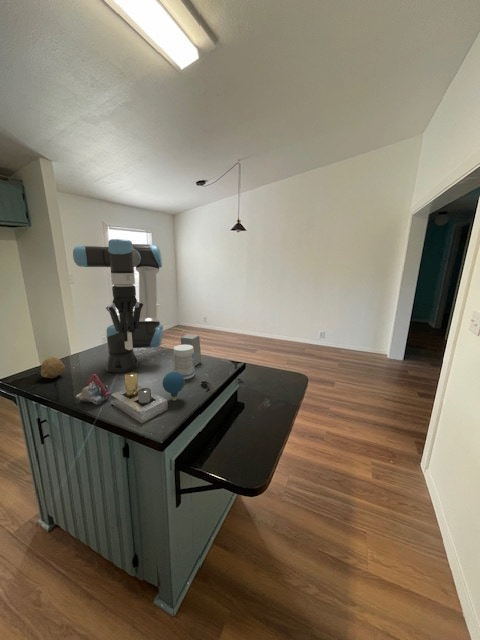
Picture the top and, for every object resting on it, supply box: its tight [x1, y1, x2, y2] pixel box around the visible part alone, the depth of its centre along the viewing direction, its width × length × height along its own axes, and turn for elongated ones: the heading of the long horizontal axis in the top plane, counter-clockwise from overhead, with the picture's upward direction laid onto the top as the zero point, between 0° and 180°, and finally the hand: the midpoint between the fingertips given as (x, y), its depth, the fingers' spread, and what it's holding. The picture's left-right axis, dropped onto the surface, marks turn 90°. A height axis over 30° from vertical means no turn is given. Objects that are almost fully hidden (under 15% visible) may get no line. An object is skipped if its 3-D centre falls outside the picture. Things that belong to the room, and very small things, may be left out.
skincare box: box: [180, 333, 202, 367], centre depth 137 cm, size 8×7×16 cm
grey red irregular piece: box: [75, 373, 112, 405], centre depth 99 cm, size 11×11×12 cm
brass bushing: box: [124, 371, 139, 399], centre depth 98 cm, size 4×4×12 cm
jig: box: [110, 384, 169, 424], centre depth 96 cm, size 20×11×8 cm, turn 54°
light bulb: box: [162, 371, 186, 401], centre depth 100 cm, size 8×8×12 cm
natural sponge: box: [40, 356, 66, 379], centre depth 118 cm, size 9×9×10 cm
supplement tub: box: [173, 344, 195, 380], centre depth 122 cm, size 10×10×15 cm
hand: (129, 348), depth 94 cm, fingers closed
